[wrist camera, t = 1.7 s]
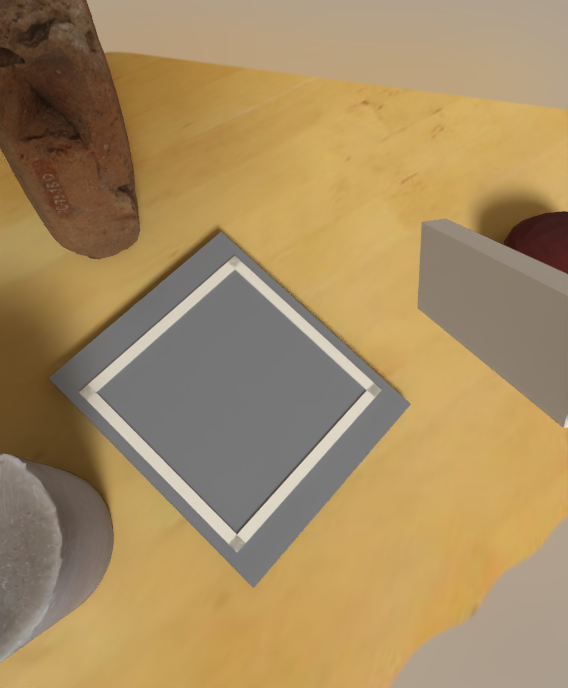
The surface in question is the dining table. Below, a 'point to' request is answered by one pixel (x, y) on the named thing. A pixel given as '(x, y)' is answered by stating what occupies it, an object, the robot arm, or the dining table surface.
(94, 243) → the block
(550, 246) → the potato
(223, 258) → the slate tile
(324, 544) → the dining table surface
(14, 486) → the pillar candle
